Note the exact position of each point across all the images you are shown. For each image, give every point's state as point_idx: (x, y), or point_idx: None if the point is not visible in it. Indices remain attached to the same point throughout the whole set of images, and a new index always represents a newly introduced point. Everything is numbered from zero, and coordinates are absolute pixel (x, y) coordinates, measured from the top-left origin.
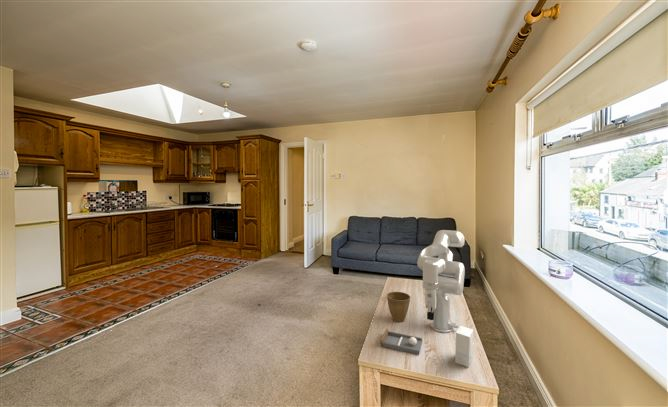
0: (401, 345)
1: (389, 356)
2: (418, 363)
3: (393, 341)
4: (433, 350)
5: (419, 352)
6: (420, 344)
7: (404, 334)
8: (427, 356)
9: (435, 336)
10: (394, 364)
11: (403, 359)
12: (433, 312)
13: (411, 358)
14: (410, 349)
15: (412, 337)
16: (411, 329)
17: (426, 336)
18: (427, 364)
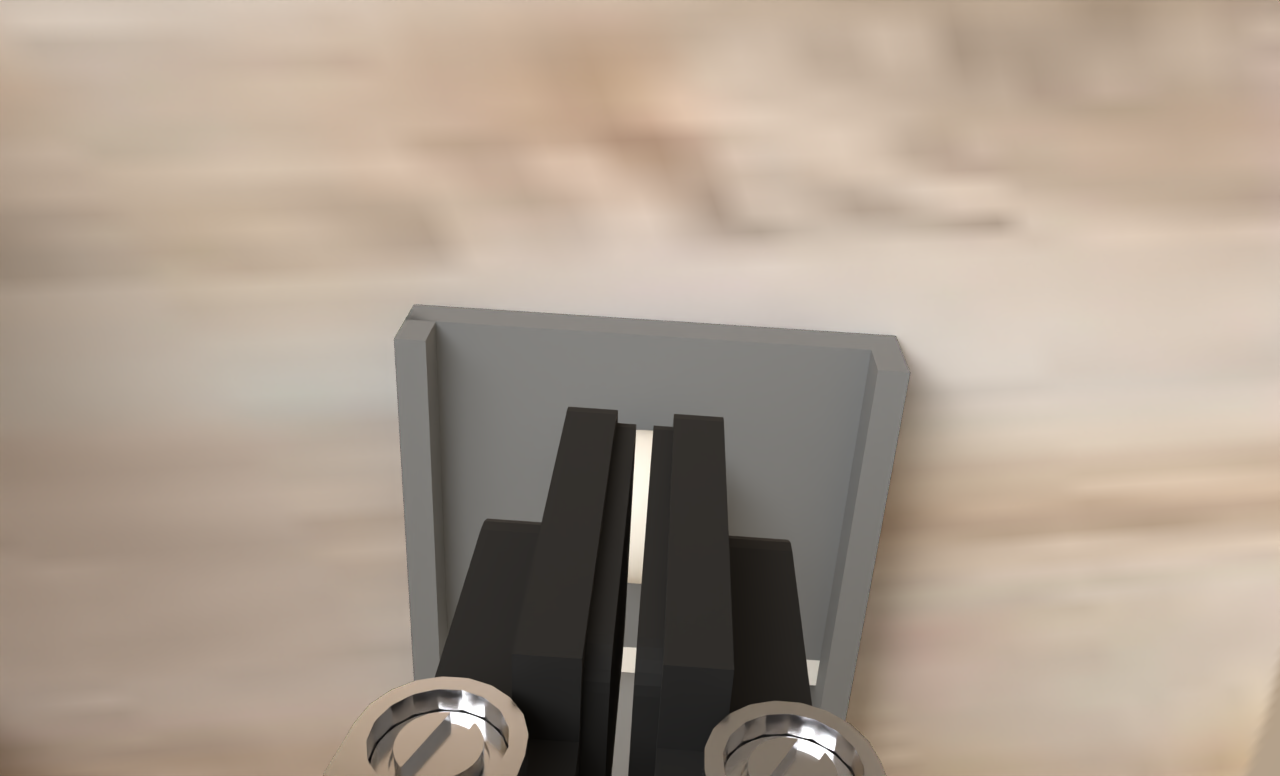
0: None
1: (1041, 730)
2: (1159, 332)
3: (616, 727)
4: (646, 75)
5: (838, 338)
6: (586, 341)
7: (413, 636)
8: (900, 187)
9: (52, 40)
10: (1238, 654)
11: (1082, 554)
12: (661, 673)
13: (1029, 446)
14: (880, 509)
15: (640, 558)
16: (56, 505)
17: (161, 229)
18: (1167, 179)
